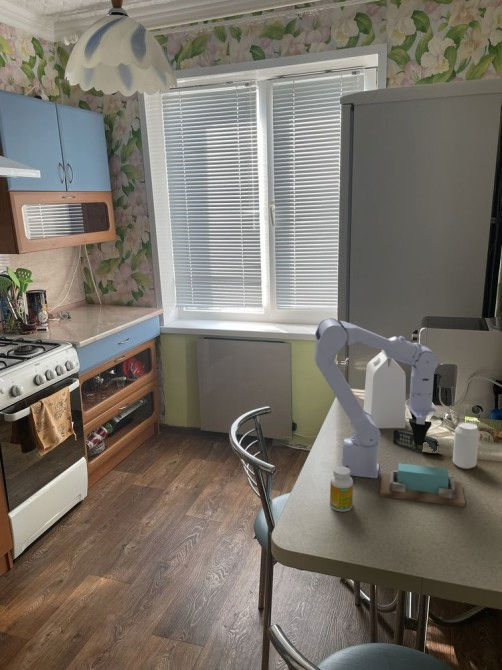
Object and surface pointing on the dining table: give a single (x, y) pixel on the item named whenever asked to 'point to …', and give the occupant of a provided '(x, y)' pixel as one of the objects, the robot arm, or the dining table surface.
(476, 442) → the beverage can
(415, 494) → the wooden bracket tray
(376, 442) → the robot arm
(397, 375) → the milk
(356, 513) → the dining table surface
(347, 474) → the supplement bottle
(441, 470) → the teal rectangular block
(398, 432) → the mobile phone
